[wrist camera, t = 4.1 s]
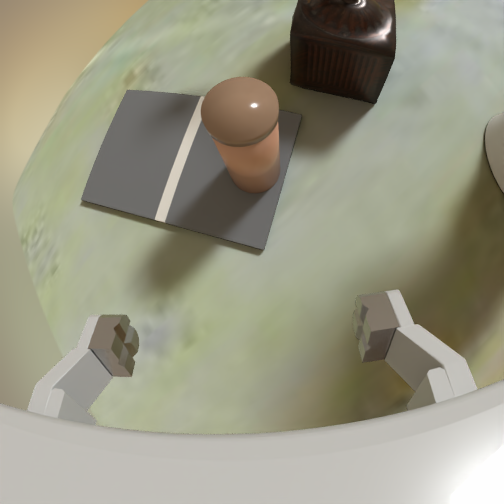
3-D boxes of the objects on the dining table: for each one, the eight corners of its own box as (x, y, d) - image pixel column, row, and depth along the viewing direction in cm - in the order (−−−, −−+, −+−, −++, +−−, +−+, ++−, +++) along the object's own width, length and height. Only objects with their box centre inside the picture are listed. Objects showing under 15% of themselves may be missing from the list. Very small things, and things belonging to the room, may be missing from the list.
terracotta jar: (286, 152, 31) (286, 84, 19) (273, 200, 31) (266, 148, 19) (238, 142, 32) (215, 72, 20) (223, 187, 32) (189, 133, 20)
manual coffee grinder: (380, 44, 33) (412, -60, 15) (376, 106, 32) (427, -9, 14) (265, 22, 34) (252, -86, 17) (244, 80, 34) (217, -43, 16)
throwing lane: (301, 117, 32) (301, 114, 32) (264, 250, 31) (263, 249, 30) (129, 92, 35) (127, 89, 34) (83, 200, 34) (80, 199, 33)
